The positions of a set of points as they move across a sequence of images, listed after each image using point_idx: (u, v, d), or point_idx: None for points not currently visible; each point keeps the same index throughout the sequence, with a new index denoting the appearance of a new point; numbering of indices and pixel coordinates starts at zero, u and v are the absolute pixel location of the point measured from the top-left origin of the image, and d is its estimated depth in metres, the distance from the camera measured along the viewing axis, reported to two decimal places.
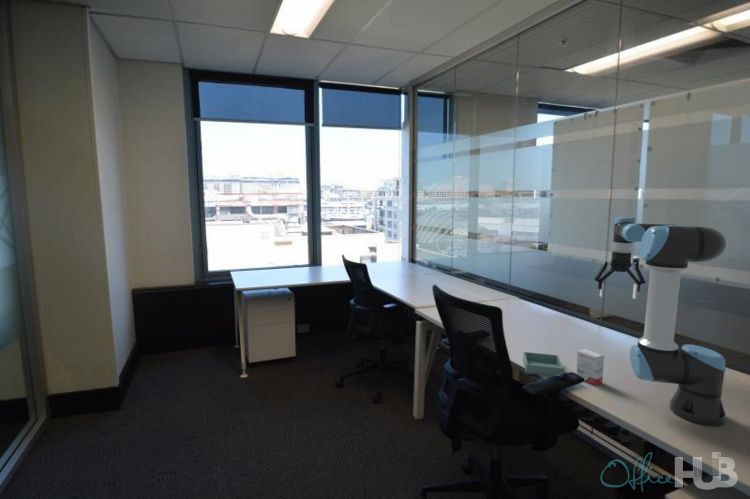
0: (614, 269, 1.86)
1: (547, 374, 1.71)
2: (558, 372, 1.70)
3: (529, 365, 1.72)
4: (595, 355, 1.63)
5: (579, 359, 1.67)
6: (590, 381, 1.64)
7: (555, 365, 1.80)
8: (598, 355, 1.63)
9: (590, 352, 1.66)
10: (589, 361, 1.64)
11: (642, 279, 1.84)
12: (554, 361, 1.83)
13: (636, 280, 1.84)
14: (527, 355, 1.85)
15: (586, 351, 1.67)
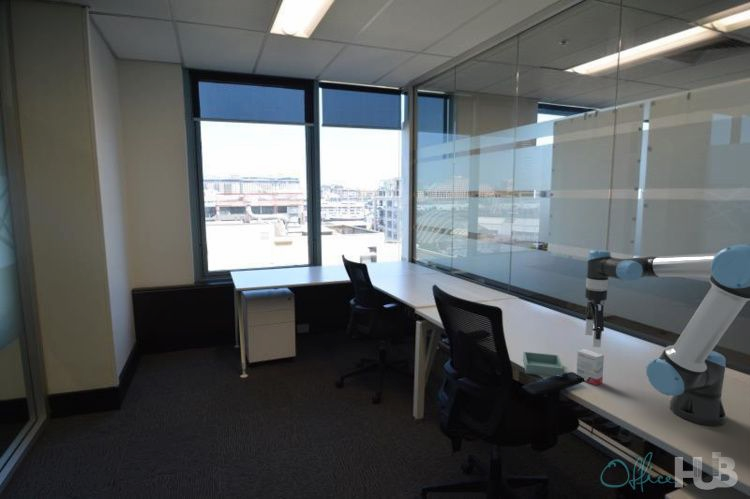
0: (588, 306, 1.66)
1: (547, 374, 1.71)
2: (558, 372, 1.70)
3: (529, 365, 1.72)
4: (595, 355, 1.63)
5: (579, 359, 1.67)
6: (590, 381, 1.64)
7: (555, 365, 1.80)
8: (598, 355, 1.63)
9: (590, 352, 1.66)
10: (589, 361, 1.64)
11: (596, 325, 1.56)
12: (554, 361, 1.83)
13: (594, 324, 1.58)
14: (527, 355, 1.85)
15: (586, 351, 1.67)
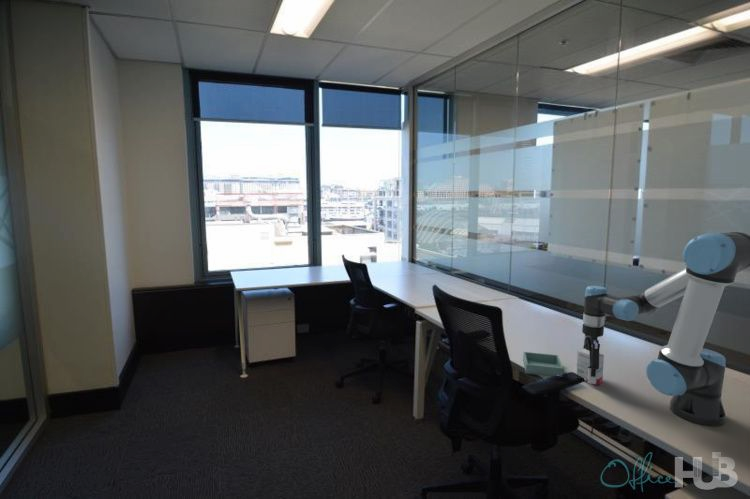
0: (585, 342, 1.68)
1: (547, 374, 1.71)
2: (558, 372, 1.70)
3: (529, 365, 1.72)
4: None
5: (579, 359, 1.67)
6: None
7: (555, 365, 1.80)
8: None
9: None
10: (589, 361, 1.64)
11: (591, 363, 1.59)
12: (554, 361, 1.83)
13: (590, 362, 1.61)
14: (527, 355, 1.85)
15: (586, 351, 1.67)
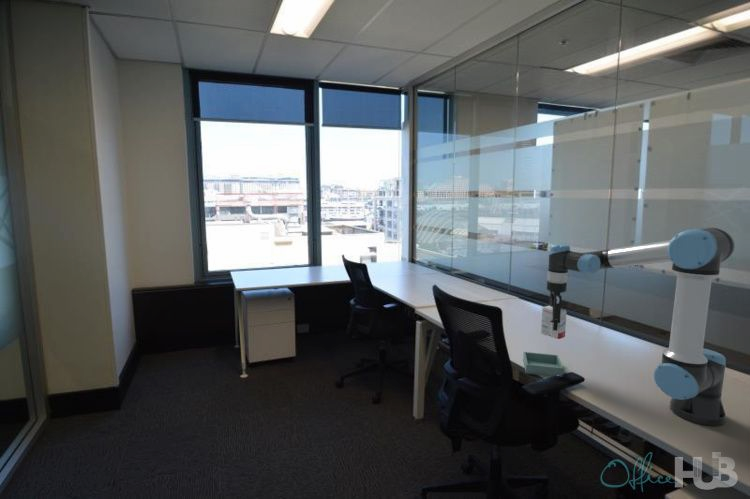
0: (550, 299, 1.75)
1: (547, 374, 1.71)
2: (558, 372, 1.70)
3: (529, 365, 1.72)
4: None
5: (544, 315, 1.74)
6: None
7: (555, 365, 1.80)
8: (561, 310, 1.70)
9: None
10: None
11: (553, 317, 1.66)
12: (554, 361, 1.83)
13: (552, 316, 1.69)
14: (527, 355, 1.85)
15: (550, 307, 1.74)
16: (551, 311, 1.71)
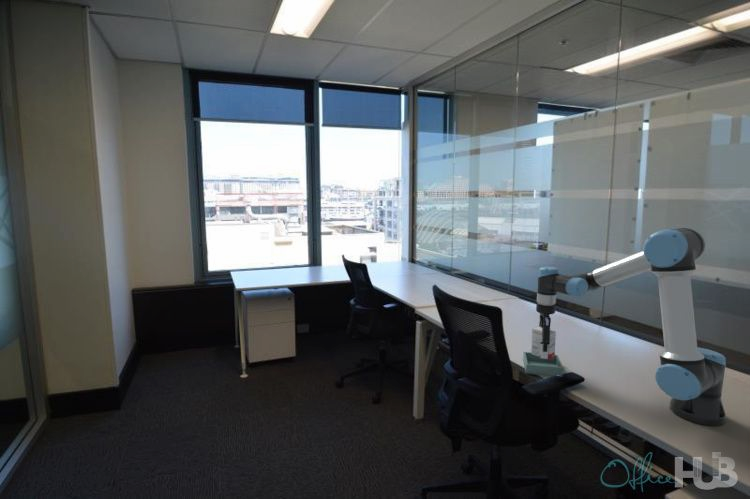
0: None
1: (547, 374, 1.71)
2: (558, 372, 1.70)
3: (529, 365, 1.72)
4: None
5: (534, 336, 1.77)
6: None
7: (555, 365, 1.80)
8: (550, 331, 1.73)
9: None
10: None
11: (543, 338, 1.70)
12: (554, 361, 1.83)
13: (542, 338, 1.72)
14: (527, 355, 1.85)
15: (540, 328, 1.77)
16: (541, 332, 1.74)
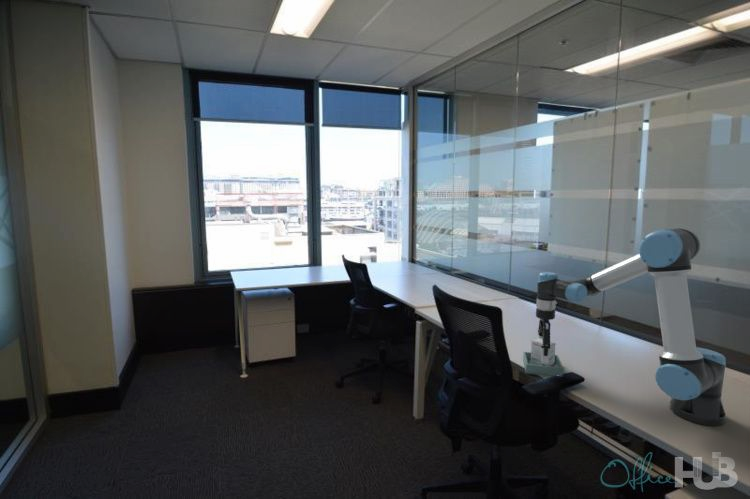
0: (539, 324, 1.79)
1: (547, 374, 1.71)
2: (558, 372, 1.70)
3: (529, 365, 1.72)
4: None
5: (533, 348, 1.77)
6: None
7: (555, 365, 1.80)
8: (550, 343, 1.73)
9: (542, 340, 1.77)
10: (541, 350, 1.74)
11: (543, 343, 1.68)
12: None
13: None
14: (527, 355, 1.85)
15: (539, 340, 1.77)
16: (540, 344, 1.74)
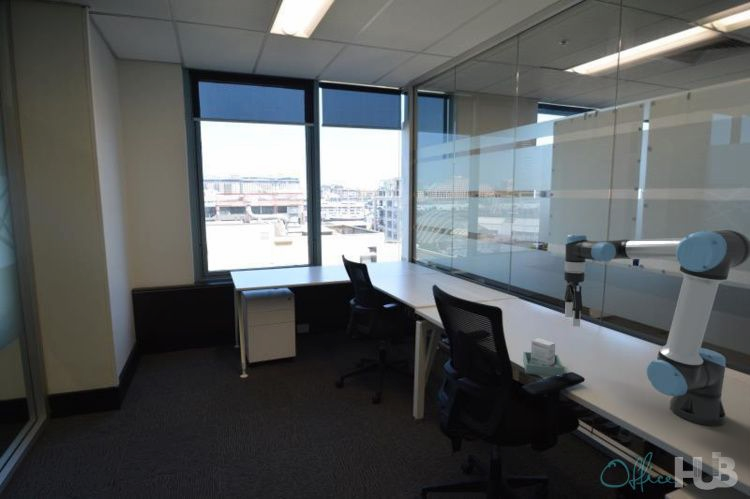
0: (567, 289, 1.75)
1: (547, 374, 1.71)
2: (558, 372, 1.70)
3: (529, 365, 1.72)
4: (547, 343, 1.73)
5: (533, 348, 1.77)
6: None
7: (555, 365, 1.80)
8: (550, 343, 1.73)
9: (542, 340, 1.77)
10: (541, 350, 1.74)
11: (575, 305, 1.64)
12: None
13: (573, 305, 1.66)
14: (527, 355, 1.85)
15: (539, 340, 1.77)
16: (540, 344, 1.74)
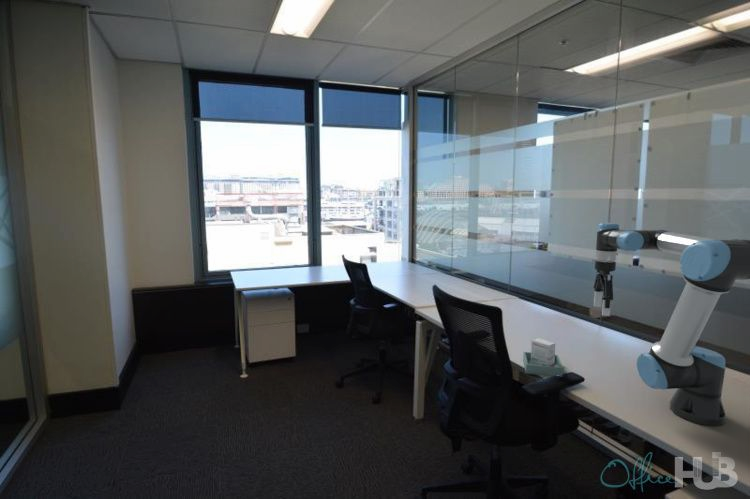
0: (597, 278, 1.73)
1: (547, 374, 1.71)
2: (558, 372, 1.70)
3: (529, 365, 1.72)
4: (547, 343, 1.73)
5: (533, 348, 1.77)
6: None
7: (555, 365, 1.80)
8: (550, 343, 1.73)
9: (542, 340, 1.77)
10: (541, 350, 1.74)
11: (605, 294, 1.62)
12: None
13: (604, 294, 1.64)
14: (527, 355, 1.85)
15: (539, 340, 1.77)
16: (540, 344, 1.74)
